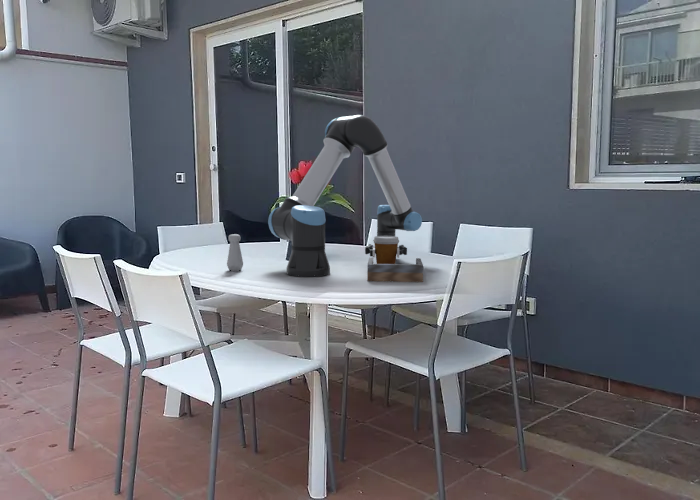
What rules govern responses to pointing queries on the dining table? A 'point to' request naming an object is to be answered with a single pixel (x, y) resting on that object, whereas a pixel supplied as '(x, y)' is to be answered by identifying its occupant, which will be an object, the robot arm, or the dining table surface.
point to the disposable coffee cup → (386, 249)
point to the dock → (395, 272)
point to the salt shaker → (234, 253)
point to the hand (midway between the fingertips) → (386, 253)
